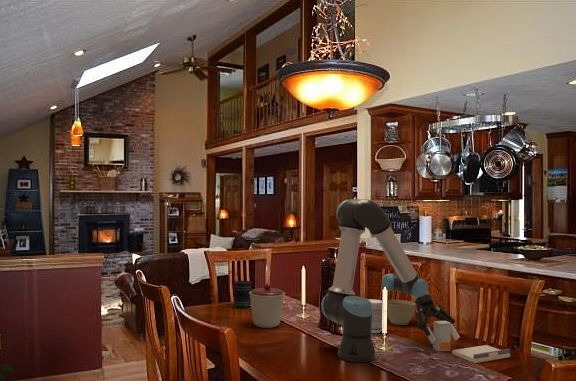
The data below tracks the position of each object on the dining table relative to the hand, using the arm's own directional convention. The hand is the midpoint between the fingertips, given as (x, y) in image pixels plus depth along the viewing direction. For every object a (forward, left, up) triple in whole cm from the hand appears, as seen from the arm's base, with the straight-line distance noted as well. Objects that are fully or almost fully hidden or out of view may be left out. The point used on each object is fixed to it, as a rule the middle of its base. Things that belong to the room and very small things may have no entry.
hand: (446, 340), depth 200 cm
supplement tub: (-10, +38, -5) cm, 40 cm away
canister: (-55, +66, -5) cm, 86 cm away
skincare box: (0, +2, -5) cm, 5 cm away
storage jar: (-52, +109, -5) cm, 121 cm away
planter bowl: (+13, +46, -5) cm, 48 cm away
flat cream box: (+10, -10, -5) cm, 15 cm away
